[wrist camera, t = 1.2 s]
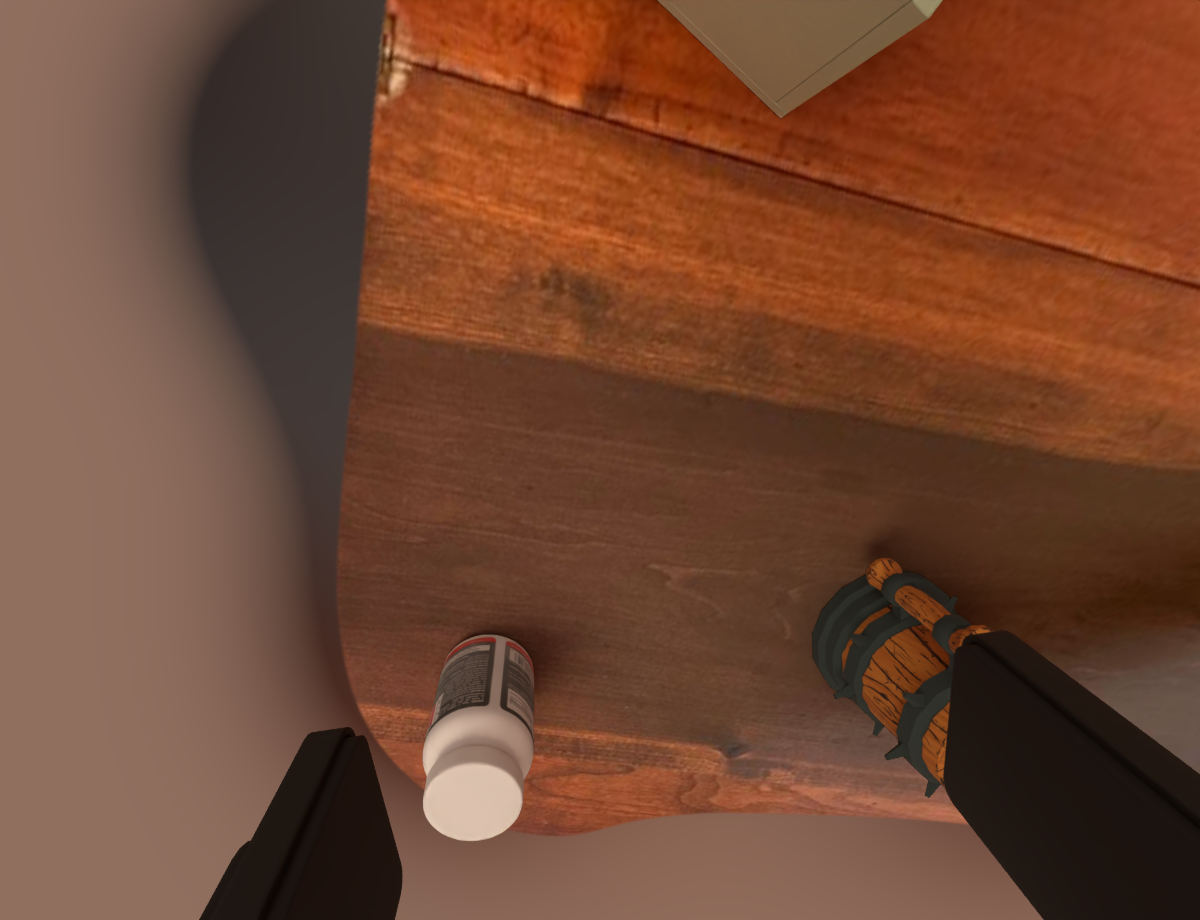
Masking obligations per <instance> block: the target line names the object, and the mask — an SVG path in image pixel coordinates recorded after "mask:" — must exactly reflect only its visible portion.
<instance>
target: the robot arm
mask: <svg viewBox="0 0 1200 920" xmlns="http://www.w3.org/2000/svg"><path fill="white" fill-rule="evenodd" d="M943 781H944V785H945V789H946V791H947V794H948V796H949V798H950V800H951V801H952V803H953V804H954V806H955V807H956V808H957V809H958V811H959V812H960V813H961V815H962V816H963V817H964V818H965V820H966V821H967V822H968V823H969V825H970V826H971V827H972V829H973V830H974V831H975V832H976V834H977V835H978V836H979V838H980V839H981V840H982V841H983V843H984V844H985V845H986V846H987V848H988V849H989V850H990V852H991V853H992V854H993V855H994V857H995V858H996V859H997V861H998V862H999V863H1000V864H1001V866H1002V867H1003V868H1004V870H1005V871H1006V872H1007V873H1008V875H1009V876H1010V877H1011V878H1012V880H1013V881H1014V882H1015V883H1016V885H1017V886H1018V887H1019V889H1020V890H1021V891H1022V893H1023V894H1024V895H1025V896H1026V897H1027V899H1028V900H1029V901H1030V903H1031V904H1032V905H1033V907H1034V908H1035V909H1036V910H1037V912H1038V913H1039V914H1040V915H1041V917H1042V918H1043V919H1044V920H1200V774H1199V773H1197V772H1196V771H1195V770H1193V769H1192V768H1191V767H1189V766H1188V765H1187V764H1185V763H1184V762H1183V761H1182V760H1180V759H1179V758H1178V757H1176V756H1175V755H1174V754H1172V753H1171V752H1170V751H1168V750H1167V749H1166V748H1164V747H1163V746H1162V745H1160V744H1159V743H1158V742H1156V741H1155V740H1154V739H1152V738H1151V737H1150V736H1148V735H1147V734H1146V733H1144V732H1143V731H1142V730H1140V729H1139V728H1138V727H1136V726H1135V725H1134V724H1132V723H1131V722H1130V721H1128V720H1127V719H1126V718H1124V717H1123V716H1122V715H1120V714H1119V713H1118V712H1116V711H1115V710H1114V709H1112V708H1111V707H1110V706H1108V705H1107V704H1106V703H1104V702H1103V701H1102V700H1100V699H1099V698H1098V697H1096V696H1095V695H1094V694H1092V693H1091V692H1090V691H1088V690H1087V689H1086V688H1084V687H1083V686H1082V685H1080V684H1079V683H1078V682H1076V681H1075V680H1074V679H1072V678H1071V677H1070V676H1068V675H1067V674H1066V673H1064V672H1063V671H1062V670H1060V669H1059V668H1058V667H1056V666H1055V665H1054V664H1052V663H1051V662H1050V661H1048V660H1047V659H1046V658H1044V657H1043V656H1042V655H1040V654H1039V653H1038V652H1037V651H1035V650H1034V649H1033V648H1031V647H1030V646H1029V645H1027V644H1026V643H1025V642H1023V641H1022V640H1021V639H1019V638H1018V637H1017V636H1015V635H1014V634H1012V633H1010V632H1008V631H1004V630H999V631H993V632H986V633H979V634H972V635H968V636H966V637H965V638H964V639H963V641H962V645H961V646H959V647H957V648H956V650H955V653H954V661H953V673H952V684H951V695H950V706H949V717H948V728H947V739H946V750H945V762H944V773H943ZM401 890H402V866H401V861H400V858H399V854H398V850H397V847H396V843H395V840H394V836H393V832H392V829H391V825H390V822H389V818H388V814H387V811H386V807H385V804H384V800H383V796H382V793H381V789H380V785H379V782H378V778H377V775H376V771H375V767H374V763H373V760H372V756H371V753H370V749H369V745H368V742H367V739H366V738H365V736H362V735H361V736H356V735H355V733H354V731H353V730H352V729H351V728H350V727H345V728H338V729H332V730H325V731H318V732H312V733H310V734H308V735H307V737H306V738H305V739H304V741H303V743H302V745H301V747H300V749H299V750H298V753H297V754H296V756H295V758H294V760H293V762H292V764H291V766H290V768H289V769H288V771H287V773H286V775H285V777H284V779H283V781H282V783H281V785H280V786H279V788H278V790H277V792H276V795H275V796H274V798H273V800H272V802H271V804H270V805H269V807H268V809H267V811H266V813H265V815H264V817H263V819H262V821H261V822H260V824H259V827H258V828H257V830H256V832H255V834H254V836H253V838H252V840H251V841H248V842H247V843H245V844H244V845H243V846H242V847H241V848H240V849H239V850H238V851H237V853H236V854H235V856H234V857H233V859H232V860H231V862H230V864H229V866H228V868H227V870H226V871H225V874H224V875H223V877H222V879H221V881H220V883H219V884H218V886H217V888H216V890H215V892H214V894H213V895H212V897H211V899H210V901H209V903H208V905H207V906H206V908H205V910H204V912H203V914H202V916H201V918H200V919H199V920H395V917H396V912H397V908H398V904H399V900H400V895H401Z"/></svg>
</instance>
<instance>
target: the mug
mask: <svg viewBox="0 0 1200 920" xmlns="http://www.w3.org/2000/svg"><path fill="white" fill-rule="evenodd" d="M957 599H958V598H957V597H955V596H953V597H952V598H951V599H950V598H949V596H948V595H947V594H945V593H944V592H943V591H942V590H940V589H939V588H938V587H936V586H935V585H934V584H932V583H931V582H930V581H928V580H927V579H926V578H925V577H923V576H922V575H921V574H916V573H912V572H907V571H902V570H901V568H900V566H899V564H898V563H896V562H895V561H893V560H892V559H889V558H878V559H876V560H875V561H873V562H872V563H870V565H869V566H868V568H867V570H866V575H864V576H863V577H861V578H859V579H857V580H856V581H854V582H852V583H850V584H848V585H847V586H845V587H843V588H841V589H840V590H839V591H838V593H837V594H836V595H835V596H834V597H833V598H832V599H831V600H830V601H829V603H828V604H827V605H826V606H825V607H824V608H823V609H822V611H821V613H820V616H819V618H818V621H817V623H816V626H815V628H814V631H813V633H812V648H813V659H814V661H815V663H816V665H817V666H818V668H819V670H820V672H821V674H822V675H823V677H824V679H825V680H826V681H827V683H828V684H829V686H830V687H831V688H833V689H835V690H836V691H838V692H837V693H835V694H834V697H835V699H837V698H841V697H847V698H848V699H851V700H853V701H854V702H855V703H856V704H857V705H858V706H859V707H860V708H861V709H862V710H863V711H864V712H865V713H866V714H867V715H868V716H869V717H870V718H872V719H873V720H874V721H875V726H874V731H873V734H874V735H876V736H877V735H878V734H879V732H880V731H881V730H882V728H883V727H884V726H885V727H886V728H887V729H888V730H889V731H890V732H891V733H892V734H893V735H894V736H895V737H896V738H897V739H898V743H899V744H898V745H897V746H896V747H894V748H893V749H892V750H891V751H889V752H888V753H887V754H886V755H884V756H885V758H886V760H891V759H895V758H899V757H904V758H905V759H906V760H907V761H908V762H909V763H910V764H911V765H912V766H913V767H914V768H915V769H916V770H917V771H918V772H919V773H920V774H922V775H923V776H924V777H925V778H926V779H927V780H928V784H927V788H926V792H925V796H927V797H928V798H930V796H931V795H932V794H933V793H934V792H935V790H936V789H937V788H938V787H939V786H940V785H943V786H944V787H945V785H944V781H943V773H944V762H945V750H946V739H947V728H948V717H949V706H950V695H951V684H952V673H953V661H954V653H955V650H956V648H957V647H959V646H961V645H962V641H963V639H964V638H965V637H966V636H968V635H972V634H979V633H986V632H993V631H994V630H992V629H990V628H988V627H987V626H985V625H973V626H972V625H971V624H970V623H969V622H968V621H967V620H965V619H964V618H963V617H962V616H961V615H957V613H956V611H955V609H954V606H955V603H956V601H957Z"/></svg>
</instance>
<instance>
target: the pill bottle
mask: <svg viewBox="0 0 1200 920" xmlns="http://www.w3.org/2000/svg"><path fill="white" fill-rule="evenodd" d="M533 750H534V669H533V664H532V661H531V659H530V657H529V655H528V653H527V652H526V651H525V650H524V648H523V647H521V646H520V645H519V644H518V643H516V642H515V641H513V640H511V639H509V638H506V637H503V636H499V635H480V636H475V637H472V638H469V639H467V640H465V641H463V642H461V643H460V644H459V645H457V646H456V647H455V648H454V649H453V650H452V651H451V652H450V653H449V655H448V656H447V658H446V660H445V662H444V665H443V668H442V671H441V675H440V680H439V684H438V688H437V692H436V697H435V701H434V705H433V709H432V713H431V717H430V721H429V726H428V730H427V734H426V739H425V743H424V749H423V765H424V769H425V772H426V775H427V779H426V786H425V791H424V797H423V809H424V812H425V816H426V818H427V820H428V821H429V822H430V824H431V825H432V826H433V827H434V828H435V829H436V830H438V831H439V832H440V833H442V834H444V835H446V836H449V837H451V838H454V839H458V840H464V841H477V840H483V839H488V838H491V837H494V836H496V835H498V834H500V833H502V832H503V831H505V830H506V829H508V828H509V827H510V826H511V825H512V824H513V823H514V822H515V820H516V819H517V817H518V815H519V813H520V811H521V808H522V804H523V792H524V779H525V777H526V776H527V774H528V772H529V769H530V767H531V764H532V759H533Z"/></svg>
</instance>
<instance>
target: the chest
mask: <svg viewBox="0 0 1200 920" xmlns="http://www.w3.org/2000/svg"><path fill="white" fill-rule="evenodd" d="M657 1H659V2H660V3H661V4H662V5H663V6H664V7H665V8H666V9H667V10H668V11H669V12H670V13H671V14H672V15H673V16H674V17H675V18H676V19H677V20H678V21H679V22H680V23H681V24H683V25H684V26H685V27H686V28H687V29H688V30H689V31H690V32H691V33H692V34H693V35H694V36H695V37H696V38H697V39H698V40H699V41H700V42H701V43H702V44H703V45H704V46H705V47H707V48H708V49H709V50H710V51H711V52H712V53H713V54H714V55H715V56H716V57H717V58H718V59H719V60H720V61H721V62H722V63H723V64H724V65H725V66H726V67H727V68H728V69H729V70H731V71H732V72H733V73H734V74H735V75H736V76H737V77H738V78H739V79H740V80H741V81H742V82H743V83H744V84H745V85H746V86H747V87H748V88H749V89H750V90H751V91H752V92H753V93H755V94H756V95H757V96H758V97H759V98H760V99H761V100H762V101H763V102H764V103H765V104H766V105H767V106H768V107H769V108H770V109H771V110H772V111H773V112H774V113H775V114H776V115H777V116H779V117H780V118H782V117H783V116H785V115H786V114H787V113H789V112H790V111H792V110H793V109H795V108H796V107H798V106H799V105H801V104H802V103H804V102H805V101H807V100H808V99H810V98H811V97H813V96H814V95H816V94H817V93H819V92H820V91H822V90H823V89H825V88H826V87H828V86H829V85H831V84H832V83H834V82H835V81H837V80H838V79H839V78H841V77H842V76H844V75H845V74H847V73H848V72H850V71H851V70H853V69H854V68H856V67H857V66H859V65H860V64H862V63H863V62H865V61H866V60H868V59H869V58H871V57H872V56H874V55H875V54H877V53H878V52H880V51H881V50H883V49H884V48H886V47H887V46H888V45H890V44H891V43H893V42H894V41H896V40H897V39H899V38H900V37H902V36H903V35H905V34H906V33H908V32H909V31H911V30H912V29H914V28H915V27H917V26H918V25H920V24H921V23H923V22H924V21H926V20H927V19H929V18H930V17H931V15H932V14H933V13H934V11H935V10H936V9H937V7H938V6H939V5H940V3H941V2H942V1H943V0H657Z"/></svg>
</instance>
